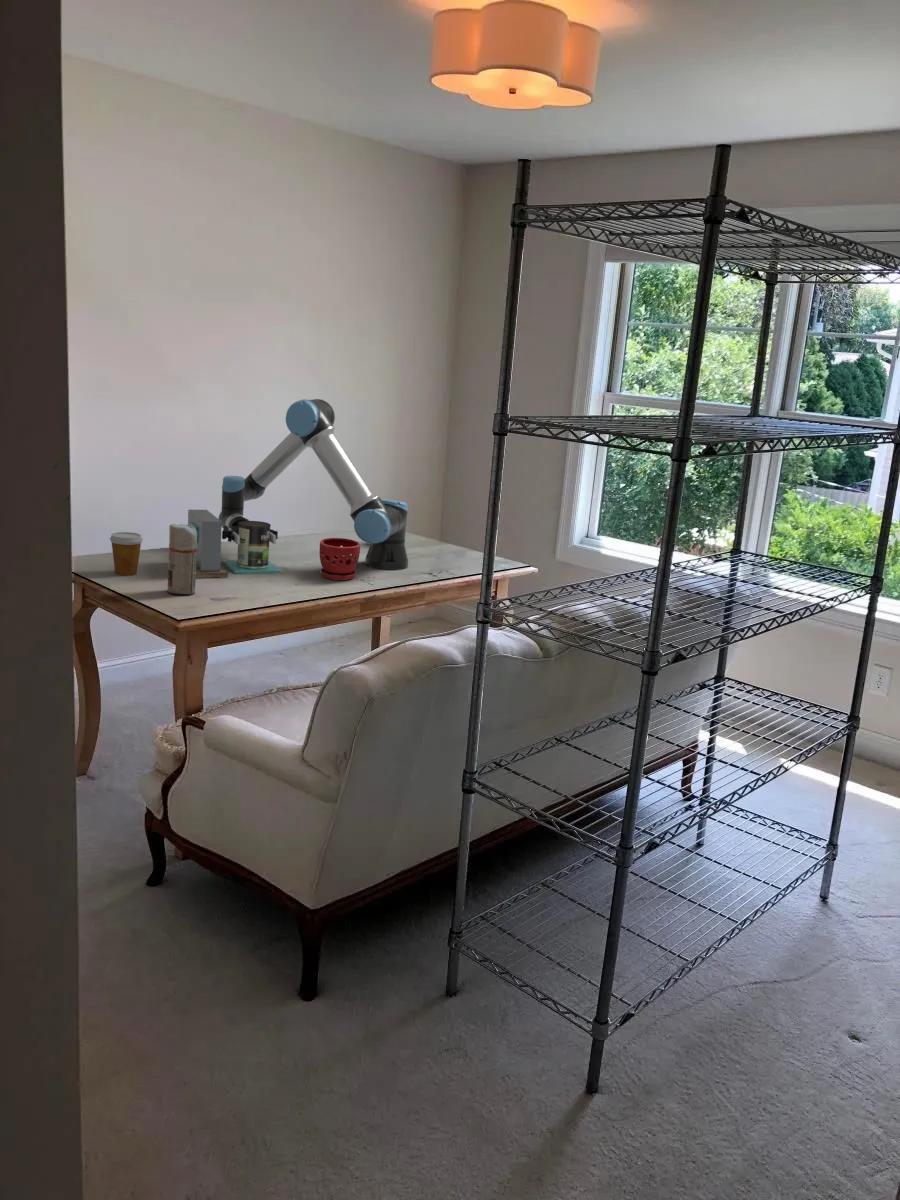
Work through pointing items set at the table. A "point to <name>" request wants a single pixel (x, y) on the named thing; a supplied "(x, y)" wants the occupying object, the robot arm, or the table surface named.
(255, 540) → the coffee can
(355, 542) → the plant pot
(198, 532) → the mounted unit
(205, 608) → the table surface
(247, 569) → the pad
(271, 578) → the table surface
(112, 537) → the disposable coffee cup
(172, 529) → the spray can
